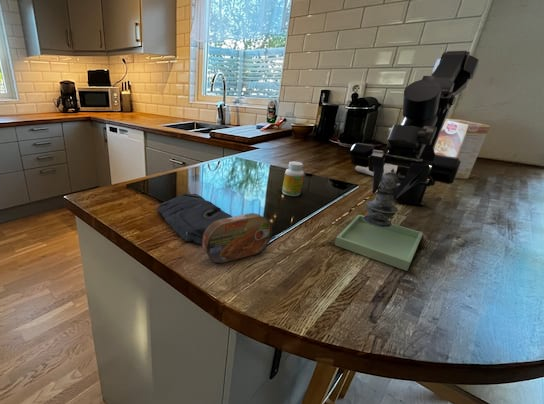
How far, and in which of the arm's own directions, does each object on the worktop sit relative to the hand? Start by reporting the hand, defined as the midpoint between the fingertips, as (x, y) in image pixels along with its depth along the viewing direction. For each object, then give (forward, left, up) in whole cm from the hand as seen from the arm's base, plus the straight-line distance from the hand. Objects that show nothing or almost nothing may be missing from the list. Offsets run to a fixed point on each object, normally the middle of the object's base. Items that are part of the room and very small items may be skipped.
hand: (383, 195), depth 61 cm
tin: (+28, +14, -11) cm, 33 cm away
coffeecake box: (-43, -70, -11) cm, 83 cm away
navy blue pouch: (+39, +2, -11) cm, 41 cm away
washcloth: (-19, -60, -11) cm, 64 cm away
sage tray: (-2, 0, -11) cm, 11 cm away
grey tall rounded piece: (-1, -1, -7) cm, 7 cm away
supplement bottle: (+16, -26, -11) cm, 32 cm away
